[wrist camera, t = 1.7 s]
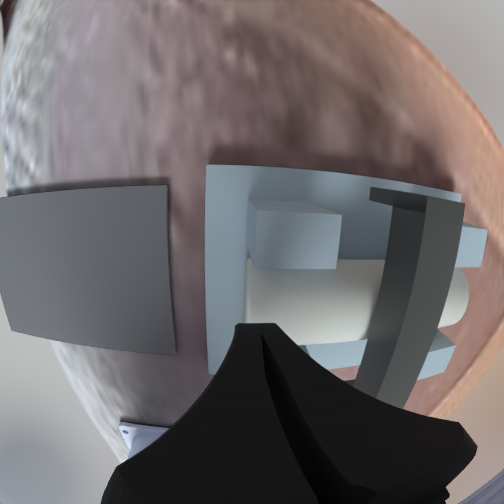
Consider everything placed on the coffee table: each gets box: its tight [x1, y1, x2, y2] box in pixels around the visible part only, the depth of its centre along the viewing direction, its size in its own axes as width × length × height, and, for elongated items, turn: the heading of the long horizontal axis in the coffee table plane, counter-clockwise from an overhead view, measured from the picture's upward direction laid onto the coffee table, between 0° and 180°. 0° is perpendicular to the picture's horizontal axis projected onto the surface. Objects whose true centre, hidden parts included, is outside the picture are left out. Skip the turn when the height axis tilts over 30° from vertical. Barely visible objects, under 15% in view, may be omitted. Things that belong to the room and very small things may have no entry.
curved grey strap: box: [344, 187, 465, 409], centre depth 11 cm, size 11×2×4 cm, turn 177°
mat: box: [0, 185, 177, 355], centre depth 14 cm, size 10×14×1 cm
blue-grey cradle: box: [205, 165, 488, 380], centre depth 13 cm, size 12×16×5 cm
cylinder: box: [244, 258, 469, 346], centre depth 13 cm, size 4×12×4 cm, turn 87°
